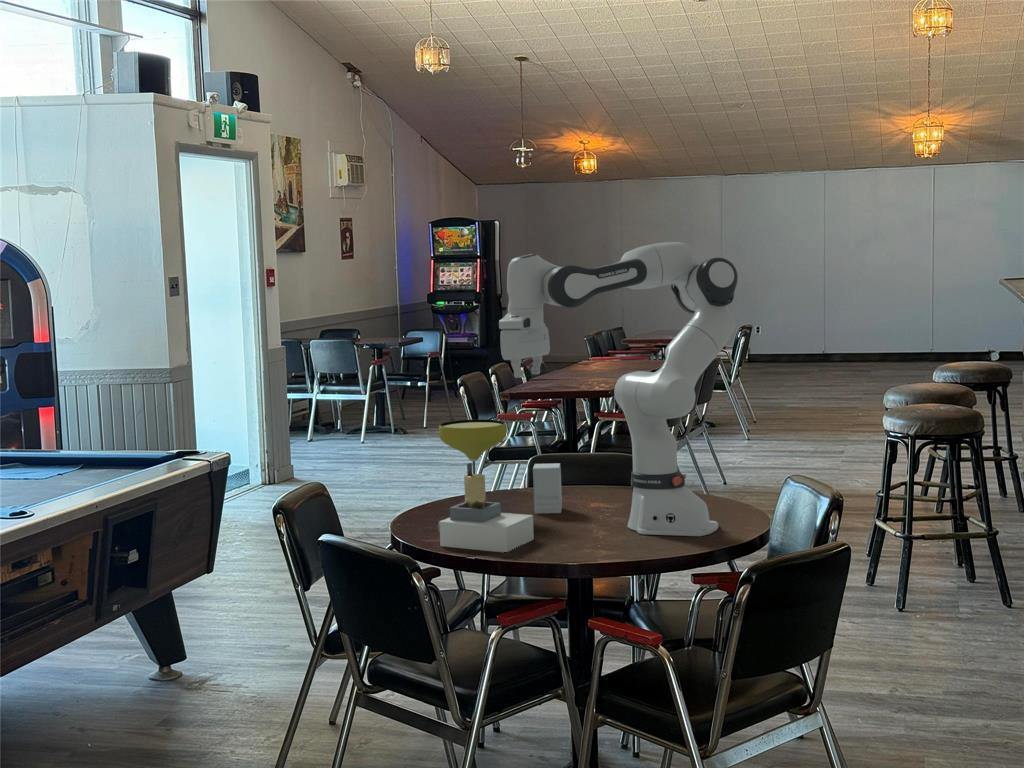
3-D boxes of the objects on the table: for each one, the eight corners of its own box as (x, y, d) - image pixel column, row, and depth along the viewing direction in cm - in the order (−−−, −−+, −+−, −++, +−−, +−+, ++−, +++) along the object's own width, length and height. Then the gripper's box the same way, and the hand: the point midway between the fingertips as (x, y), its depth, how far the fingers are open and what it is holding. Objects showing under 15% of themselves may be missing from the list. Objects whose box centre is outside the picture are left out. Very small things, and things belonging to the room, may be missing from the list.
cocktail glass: (521, 516, 297) (518, 423, 294) (460, 526, 288) (457, 430, 285) (489, 505, 312) (486, 417, 310) (430, 514, 304) (427, 423, 301)
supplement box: (562, 508, 307) (561, 462, 305) (561, 513, 299) (559, 467, 298) (535, 508, 307) (534, 463, 306) (533, 514, 300) (532, 467, 299)
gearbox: (533, 539, 271) (532, 503, 270) (506, 552, 258) (505, 514, 258) (455, 532, 281) (454, 497, 280) (426, 544, 269) (424, 508, 268)
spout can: (489, 515, 271) (488, 462, 269) (479, 519, 266) (478, 465, 265) (471, 513, 273) (470, 461, 272) (461, 518, 269) (460, 464, 267)
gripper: (533, 318, 287) (534, 371, 288) (495, 322, 269) (496, 379, 270) (555, 318, 284) (556, 372, 285) (518, 322, 266) (520, 379, 267)
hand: (527, 375), depth 277 cm, fingers open, 8 cm apart
